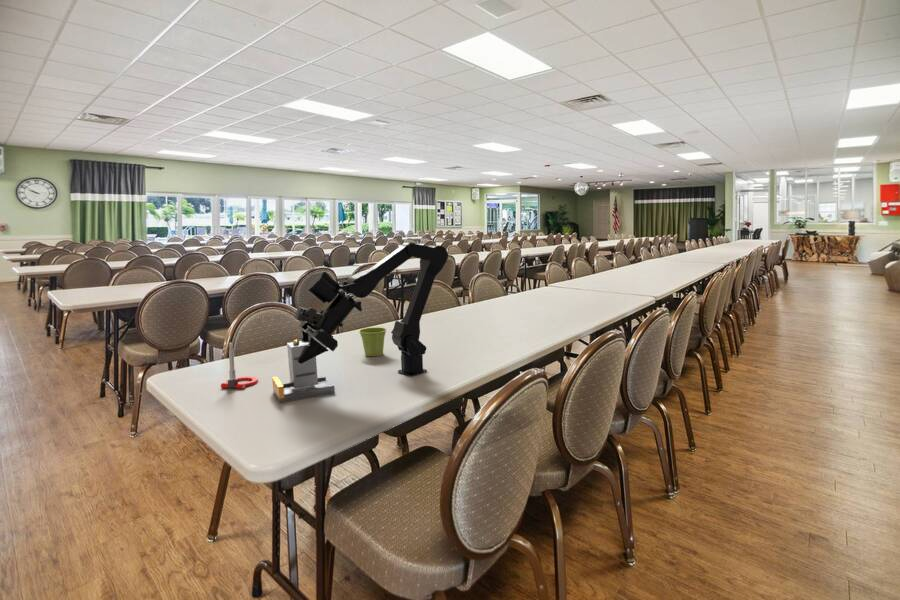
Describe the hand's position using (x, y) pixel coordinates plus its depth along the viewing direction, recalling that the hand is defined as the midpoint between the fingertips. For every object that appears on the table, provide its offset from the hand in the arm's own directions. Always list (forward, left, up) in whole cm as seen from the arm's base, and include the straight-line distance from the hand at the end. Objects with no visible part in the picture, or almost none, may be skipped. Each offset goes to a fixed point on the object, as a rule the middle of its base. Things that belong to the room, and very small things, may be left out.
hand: (296, 360), depth 123 cm
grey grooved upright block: (0, -1, -7) cm, 7 cm away
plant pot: (+18, -36, -9) cm, 42 cm away
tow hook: (+20, +8, -9) cm, 23 cm away
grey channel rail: (0, -1, -9) cm, 9 cm away
